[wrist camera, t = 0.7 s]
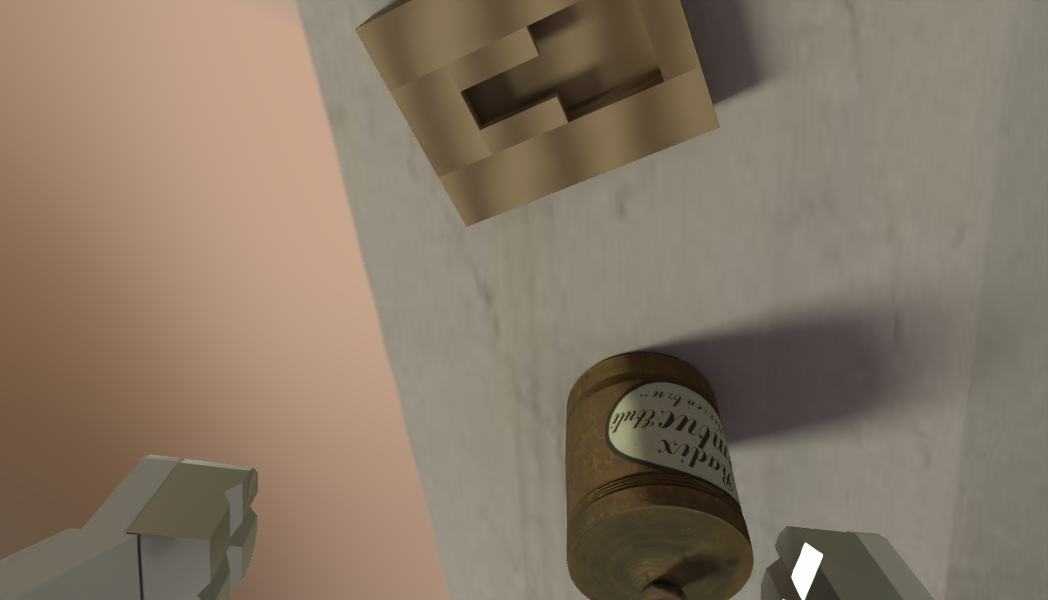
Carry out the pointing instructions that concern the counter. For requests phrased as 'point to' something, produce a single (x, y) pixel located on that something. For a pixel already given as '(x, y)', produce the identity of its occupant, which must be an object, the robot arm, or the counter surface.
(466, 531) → the counter surface
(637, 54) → the keyhole plate
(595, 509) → the wooden container
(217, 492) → the robot arm
